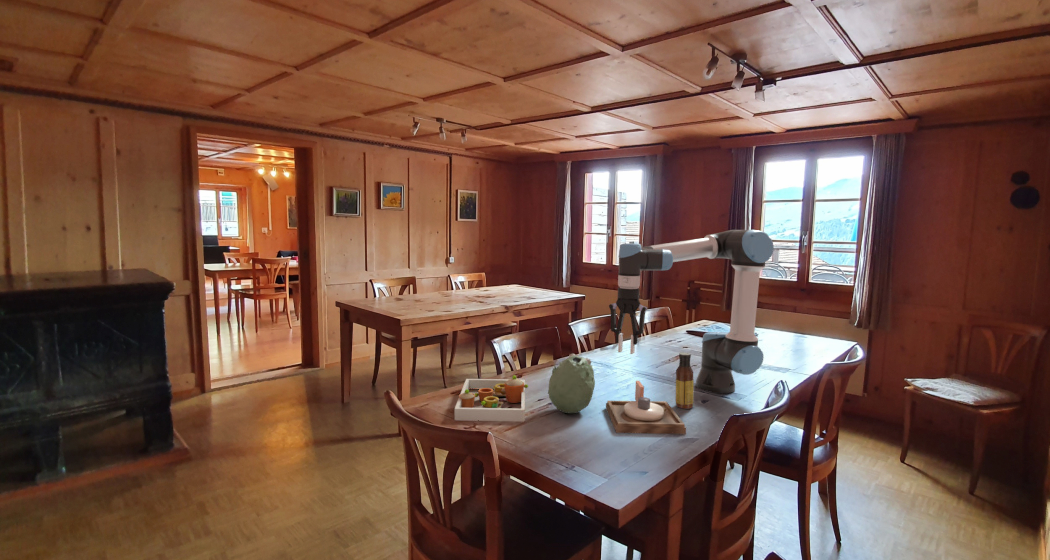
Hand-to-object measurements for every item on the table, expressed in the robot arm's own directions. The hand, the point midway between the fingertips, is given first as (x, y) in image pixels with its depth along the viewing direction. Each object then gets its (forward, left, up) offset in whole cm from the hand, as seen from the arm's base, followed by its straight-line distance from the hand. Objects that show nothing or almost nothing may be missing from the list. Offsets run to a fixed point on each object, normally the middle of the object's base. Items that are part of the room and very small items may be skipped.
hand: (626, 352), depth 182 cm
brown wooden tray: (-4, +12, -21) cm, 24 cm away
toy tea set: (+48, -2, -21) cm, 52 cm away
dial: (-4, +9, -18) cm, 21 cm away
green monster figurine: (+20, +4, -21) cm, 29 cm away
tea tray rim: (+48, -2, -21) cm, 52 cm away
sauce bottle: (-22, -2, -21) cm, 31 cm away
